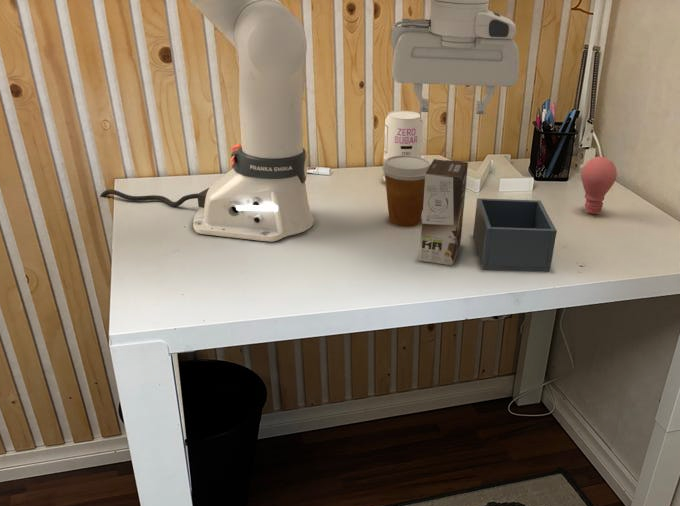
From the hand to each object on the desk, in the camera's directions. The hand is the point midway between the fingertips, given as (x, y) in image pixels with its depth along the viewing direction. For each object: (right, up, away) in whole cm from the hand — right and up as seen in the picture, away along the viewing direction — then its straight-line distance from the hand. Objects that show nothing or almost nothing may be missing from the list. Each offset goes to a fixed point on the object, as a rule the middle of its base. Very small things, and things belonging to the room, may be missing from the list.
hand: (452, 112), depth 121 cm
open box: (+11, -21, +15) cm, 28 cm away
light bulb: (+31, -10, +35) cm, 48 cm away
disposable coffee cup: (-8, -13, +26) cm, 30 cm away
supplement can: (-9, -1, +45) cm, 46 cm away
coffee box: (-1, -22, +13) cm, 25 cm away
